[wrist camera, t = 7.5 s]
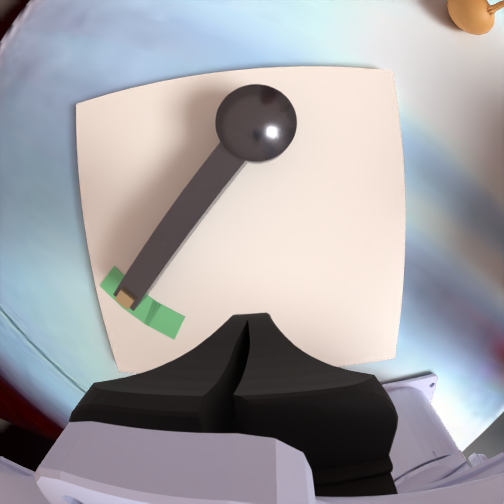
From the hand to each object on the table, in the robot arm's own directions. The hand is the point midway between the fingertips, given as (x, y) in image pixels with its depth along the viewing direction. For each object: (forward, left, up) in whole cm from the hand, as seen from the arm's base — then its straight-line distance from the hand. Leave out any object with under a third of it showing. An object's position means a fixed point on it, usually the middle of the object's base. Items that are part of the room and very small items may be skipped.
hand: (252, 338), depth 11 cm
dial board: (+2, +1, -9) cm, 10 cm away
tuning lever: (+5, +3, -8) cm, 10 cm away
